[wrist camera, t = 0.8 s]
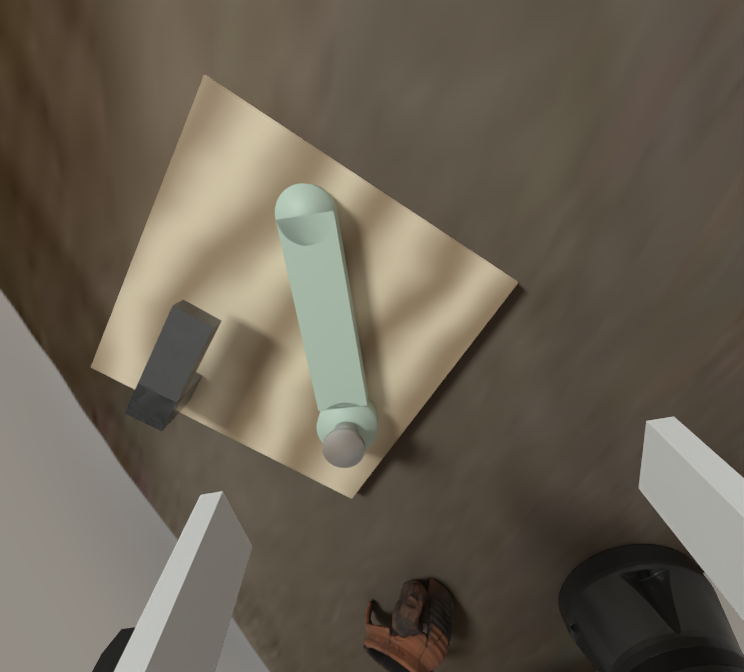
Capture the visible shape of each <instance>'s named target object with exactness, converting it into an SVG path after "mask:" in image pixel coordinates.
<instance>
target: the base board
mask: <svg viewBox="0 0 744 672" xmlns="http://www.w3.org/2000/svg"><path fill="white" fill-rule="evenodd" d="M301 183H304V184H314V185H317V186H320V187H322V188H323V189H325V190H326V191H327V192H328V193H329V194H330V195H331V196H332V198H333V200H334V201H335V204H336V207H337V212H338V218H339V224H340V230H341V236H342V242H343V248H344V254H345V259H346V265H347V271H348V277H349V283H350V289H351V295H352V301H353V307H354V313H355V319H356V324H357V330H358V336H359V342H360V348H361V354H362V360H363V366H364V372H365V378H366V384H367V389H368V398H369V399H370V400H371V401H372V402H373V403H374V405H375V407H376V410H377V416H378V418H377V435H376V438H375V440H374V442H373V443H372V444H371V445H370V446H369V447H368V448H367V449H366V450H365V443H364V440H363V438H362V437H361V435H360V434H359V431H358V428H357V426H356V425H355V424H353V423H351V422H341V423H339V424H337V425H336V427H335V429H334V430H333V431H331V432H330V433H328V434H327V436H326V437H325V439H324V443H322V442H321V440H320V439H319V437H318V434H317V421H318V417H319V414H320V411H318V407H317V403H316V398H315V394H314V389H313V385H312V380H311V376H310V372H309V367H308V363H307V358H306V354H305V349H304V345H303V340H302V336H301V331H300V327H299V322H298V318H297V313H296V309H295V305H294V300H293V296H292V291H291V287H290V282H289V278H288V273H287V269H286V264H285V260H284V255H283V251H282V246H281V242H280V237H279V233H278V229H277V224H276V219H275V206H276V202H277V200H278V198H279V196H280V195H281V193H282V192H283V191H284V190H285V189H287V188H288V187H290V186H292V185H295V184H301ZM517 284H518V281H516V280H515V279H513V278H512V277H510V276H509V275H507V274H506V273H504V272H503V271H501V270H500V269H498V268H497V267H495V266H494V265H492V264H490V263H489V262H487V261H486V260H484V259H483V258H481V257H480V256H478V255H477V254H475V253H474V252H472V251H471V250H469V249H468V248H466V247H465V246H463V245H462V244H460V243H459V242H457V241H456V240H454V239H453V238H451V237H450V236H448V235H447V234H445V233H444V232H442V231H441V230H439V229H438V228H436V227H435V226H433V225H432V224H430V223H429V222H427V221H426V220H424V219H422V218H421V217H419V216H418V215H416V214H415V213H413V212H412V211H410V210H409V209H407V208H406V207H404V206H403V205H401V204H400V203H398V202H397V201H395V200H394V199H392V198H391V197H389V196H388V195H386V194H385V193H383V192H382V191H380V190H379V189H377V188H376V187H374V186H373V185H371V184H370V183H368V182H367V181H365V180H364V179H362V178H361V177H359V176H358V175H356V174H354V173H353V172H351V171H350V170H348V169H347V168H345V167H344V166H342V165H341V164H339V163H338V162H336V161H335V160H333V159H332V158H330V157H329V156H327V155H326V154H324V153H323V152H321V151H320V150H318V149H317V148H315V147H314V146H312V145H311V144H309V143H308V142H306V141H305V140H303V139H302V138H300V137H299V136H297V135H296V134H294V133H293V132H291V131H290V130H288V129H286V128H285V127H283V126H282V125H280V124H279V123H277V122H276V121H274V120H273V119H271V118H270V117H268V116H267V115H265V114H264V113H262V112H261V111H259V110H258V109H256V108H255V107H253V106H252V105H250V104H249V103H247V102H246V101H244V100H243V99H241V98H240V97H238V96H237V95H235V94H234V93H232V92H231V91H229V90H228V89H226V88H225V87H223V86H222V85H220V84H218V83H217V82H215V81H214V80H212V79H211V78H209V77H208V76H206V75H205V74H204V76H203V79H202V82H201V84H200V87H199V89H198V92H197V94H196V97H195V100H194V102H193V105H192V107H191V110H190V112H189V115H188V118H187V120H186V123H185V125H184V128H183V131H182V133H181V136H180V138H179V141H178V143H177V146H176V149H175V151H174V154H173V156H172V159H171V162H170V164H169V167H168V169H167V172H166V174H165V177H164V180H163V182H162V185H161V187H160V190H159V193H158V195H157V198H156V200H155V203H154V205H153V208H152V211H151V213H150V216H149V218H148V221H147V224H146V226H145V229H144V231H143V234H142V236H141V239H140V242H139V244H138V247H137V249H136V252H135V254H134V257H133V260H132V262H131V265H130V267H129V270H128V273H127V275H126V278H125V280H124V283H123V285H122V288H121V291H120V293H119V296H118V298H117V301H116V304H115V306H114V309H113V311H112V314H111V316H110V319H109V322H108V324H107V327H106V329H105V332H104V335H103V337H102V340H101V342H100V345H99V347H98V350H97V353H96V355H95V358H94V360H93V363H92V366H91V368H93V369H95V370H97V371H99V372H101V373H103V374H105V375H107V376H109V377H111V378H113V379H115V380H117V381H119V382H121V383H123V384H125V385H127V386H129V387H131V388H133V389H136V387H137V384H138V382H139V380H140V378H141V375H142V373H143V371H144V369H145V366H146V364H147V362H148V360H149V357H150V355H151V353H152V351H153V348H154V346H155V344H156V342H157V339H158V337H159V335H160V333H161V330H162V328H163V326H164V324H165V321H166V319H167V317H168V315H169V312H170V310H171V308H172V306H173V305H174V304H176V303H178V302H180V301H181V300H183V299H184V300H185V301H187V302H189V303H191V304H193V305H194V306H196V307H198V308H200V309H202V310H203V311H205V312H207V313H209V314H211V315H212V316H214V317H216V318H218V319H220V320H221V323H220V325H219V327H218V329H217V331H216V333H215V335H214V337H213V339H212V341H211V343H210V345H209V347H208V349H207V351H206V353H205V355H204V357H203V359H202V361H201V363H200V365H199V367H198V369H197V371H196V372H197V373H199V374H201V375H203V376H202V378H201V380H200V382H199V384H198V386H197V387H196V389H195V391H194V393H193V395H192V397H191V399H190V401H189V402H188V403H187V405H186V406H185V407H184V408H183V409H182V410H181V411H180V413H182V414H184V415H186V416H188V417H190V418H192V419H194V420H196V421H198V422H200V423H202V424H204V425H206V426H208V427H210V428H212V429H214V430H216V431H218V432H220V433H222V434H224V435H226V436H228V437H230V438H232V439H234V440H236V441H238V442H240V443H242V444H244V445H246V446H248V447H250V448H252V449H254V450H256V451H258V452H260V453H262V454H264V455H266V456H268V457H270V458H272V459H274V460H276V461H278V462H280V463H282V464H284V465H286V466H288V467H290V468H292V469H294V470H296V471H298V472H300V473H302V474H304V475H306V476H308V477H310V478H311V479H313V480H315V481H317V482H319V483H321V484H323V485H325V486H327V487H329V488H331V489H333V490H335V491H337V492H339V493H341V494H343V495H345V496H347V497H349V498H351V499H352V498H353V497H354V495H355V494H356V493H357V491H358V490H359V489H360V487H361V486H362V485H363V484H364V482H365V481H366V480H367V478H368V477H369V476H370V474H371V473H372V472H373V471H374V469H375V468H376V467H377V465H378V464H379V463H380V461H381V460H382V459H383V458H384V456H385V455H386V454H387V452H388V451H389V450H390V449H391V447H392V446H393V445H394V443H395V442H396V441H397V439H398V438H399V437H400V436H401V434H402V433H403V432H404V430H405V429H406V428H407V426H408V425H409V424H410V423H411V421H412V420H413V419H414V417H415V416H416V415H417V413H418V412H419V411H420V410H421V408H422V407H423V406H424V404H425V403H426V402H427V401H428V399H429V398H430V397H431V395H432V394H433V393H434V391H435V390H436V389H437V388H438V386H439V385H440V384H441V382H442V381H443V380H444V378H445V377H446V376H447V375H448V373H449V372H450V371H451V369H452V368H453V367H454V365H455V364H456V363H457V362H458V360H459V359H460V358H461V356H462V355H463V354H464V353H465V351H466V350H467V349H468V347H469V346H470V345H471V343H472V342H473V341H474V340H475V338H476V337H477V336H478V334H479V333H480V332H481V330H482V329H483V328H484V327H485V325H486V324H487V323H488V321H489V320H490V319H491V317H492V316H493V315H494V314H495V312H496V311H497V310H498V308H499V307H500V306H501V305H502V303H503V302H504V301H505V299H506V298H507V297H508V295H509V294H510V293H511V292H512V290H513V289H514V288H515V286H516V285H517Z"/></svg>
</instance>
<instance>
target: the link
mask: <svg viewBox="0 0 744 672" xmlns="http://www.w3.org/2000/svg"><path fill="white" fill-rule="evenodd" d="M275 219H276V224H277V229H278V233H279V237H280V242H281V246H282V251H283V255H284V260H285V264H286V269H287V273H288V278H289V282H290V287H291V291H292V296H293V300H294V305H295V309H296V313H297V318H298V322H299V327H300V331H301V336H302V340H303V345H304V349H305V354H306V358H307V363H308V367H309V372H310V376H311V380H312V385H313V389H314V394H315V398H316V403H317V407H318V411H320V414H319V417H318V421H317V434H318V437H319V439H320V440H321V442H322V443H324V439H325V437H326V436H327V434H328V433H330V432H331V431H333V430H334V429H335V427H336V425H337V424H339V423H341V422H351V423H353V424H355V425H356V426H357V428H358V431H359V434H360V435H361V437H362V438H363V440H364V443H365V450H366V449H367V448H368V447H369V446H370V445H371V444H372V443H373V442H374V440H375V438H376V435H377V418H378V416H377V410H376V407H375V405H374V403H373V402H372V401H371V400H370V399H369V398H368V389H367V384H366V378H365V372H364V366H363V360H362V354H361V348H360V342H359V336H358V330H357V324H356V319H355V313H354V307H353V301H352V295H351V289H350V283H349V277H348V271H347V265H346V259H345V254H344V248H343V242H342V236H341V230H340V224H339V218H338V212H337V207H336V204H335V201H334V200H333V198H332V196H331V195H330V194H329V193H328V192H327V191H326V190H325V189H323V188H322V187H320V186H317V185H314V184H304V183H301V184H295V185H292V186H290V187H288V188H287V189H285V190H284V191H283V192H282V193H281V195H280V196H279V198H278V200H277V202H276V206H275Z"/></svg>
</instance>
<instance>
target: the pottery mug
mask: <svg viewBox="0 0 744 672" xmlns="http://www.w3.org/2000/svg"><path fill="white" fill-rule="evenodd" d="M453 606H454V602H453V599H452V597H451V595H450V593H449V592H448V591H447V590H446V589H445V588H444V587H443V586H442V585H441V584H439V583H438V582H436V581H435V580H433V579H429V587H428V590H426V589H425V587H424V586H423V585H422V584H421V583H420V582H419V581H407V582H405V583H404V585H403V588H402V589H401V594H400V598H399V600H398V601H397V603H396V606H395V609H394V611H393V613H392V626H393V630H394V631H395V632H396V633H398V635H392V634H391V629H390V628H389V627H383V626H381V625H375V626H374V625H373V624H372V622H371V613H372V609H373V603H372V602H371V601H369V602H368V606H367V608H366V613H365V628H366V634H367V636H366V638H365V639H364V641H363V643H364V646H363V648H364V650H365V651H366V652H367V653H368V654H369V656H371V657H372V658H373V660H375V661H376V662H377V663H378V664H379V665H381V666H382V667H383V668H385V669H386V670H387V671H389V672H433V671H434V669H435V668H437V667H438V666H439V665H440V664H441V663H442V662H443V661H444V658H445V656H446V655H447V648H448V645H449V642H450V640H451V633H452V625H453V621H454V620H453ZM425 622H428V629H427V634H426V633H425V632H422V631H423V623H425Z"/></svg>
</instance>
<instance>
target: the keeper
mask: <svg viewBox="0 0 744 672" xmlns="http://www.w3.org/2000/svg"><path fill="white" fill-rule="evenodd" d="M220 323H221V320H220V319H218V318H216V317H214V316H212V315H211V314H209V313H207V312H205V311H203V310H202V309H200V308H198V307H196V306H194V305H193V304H191V303H189V302H187V301H185V300H184V299H183V300H181V301H180V302H178V303H176V304H174V305H173V306H172V308H171V310H170V312H169V315H168V317H167V319H166V321H165V324H164V326H163V328H162V330H161V333H160V335H159V337H158V339H157V342H156V344H155V346H154V348H153V351H152V353H151V355H150V357H149V360H148V362H147V364H146V366H145V369H144V371H143V373H142V375H141V378H140V380H139V382H138V384H137V387H136V389H135V391H134V393H133V396H132V398H131V400H130V402H129V405H128V407H127V409H126V411H125V413H126V414H128V415H130V416H132V417H134V418H136V419H138V420H140V421H142V422H144V423H146V424H148V425H150V426H152V427H154V428H156V429H158V430H161V431H163V429H164V428H165V427H166V426H167V425H168V424H169V423H170V422H171V421H172V420H173V419H174V418H175V416H176V415H177V414H178V413H179V412H180V411H181V410H182V409H183V408H184V407H185V406H186V405H187V403H188V402H189V401H190V399H191V397H192V395H193V393H194V391H195V389H196V387H197V386H198V384H199V382H200V380H201V378H202V376H203V375H201V374H199V373H197V372H196V371H197V369H198V367H199V365H200V363H201V361H202V359H203V357H204V355H205V353H206V351H207V349H208V347H209V345H210V343H211V341H212V339H213V337H214V335H215V333H216V331H217V329H218V327H219V325H220Z"/></svg>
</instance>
